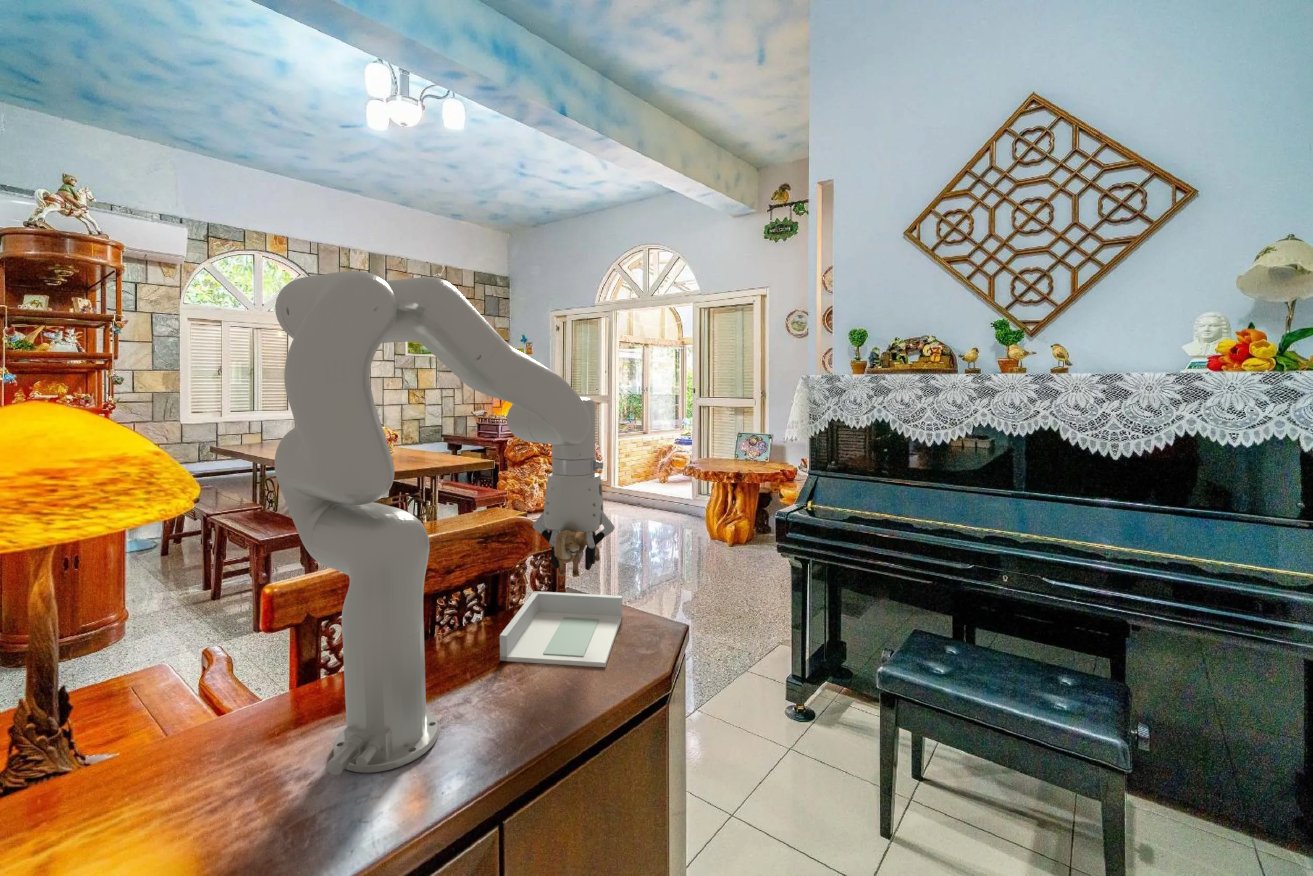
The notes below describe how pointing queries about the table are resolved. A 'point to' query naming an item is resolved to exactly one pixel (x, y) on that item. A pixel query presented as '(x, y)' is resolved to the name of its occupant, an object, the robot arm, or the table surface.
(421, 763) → the table surface
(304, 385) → the robot arm
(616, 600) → the tray
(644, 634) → the table surface
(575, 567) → the lion figurine
